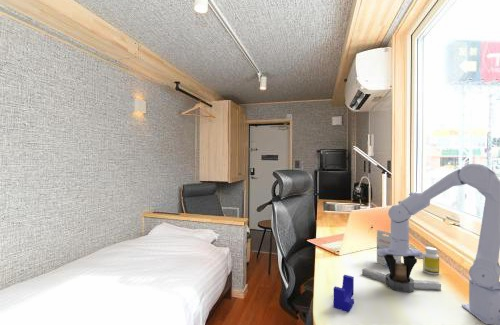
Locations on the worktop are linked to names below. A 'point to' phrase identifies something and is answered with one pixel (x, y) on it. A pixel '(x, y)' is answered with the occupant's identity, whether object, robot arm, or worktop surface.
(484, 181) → the robot arm
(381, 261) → the ink box
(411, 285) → the coupling collar
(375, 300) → the worktop surface
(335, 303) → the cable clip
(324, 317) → the worktop surface
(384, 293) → the worktop surface
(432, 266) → the supplement bottle
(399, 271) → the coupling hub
